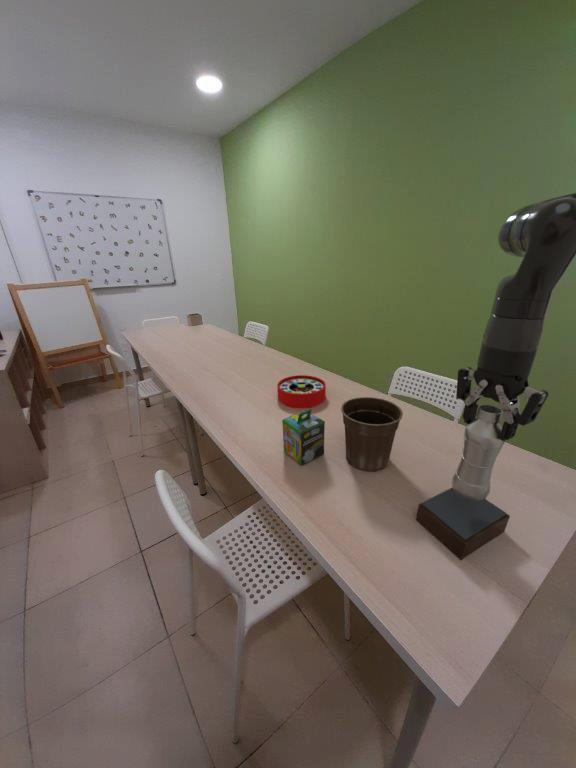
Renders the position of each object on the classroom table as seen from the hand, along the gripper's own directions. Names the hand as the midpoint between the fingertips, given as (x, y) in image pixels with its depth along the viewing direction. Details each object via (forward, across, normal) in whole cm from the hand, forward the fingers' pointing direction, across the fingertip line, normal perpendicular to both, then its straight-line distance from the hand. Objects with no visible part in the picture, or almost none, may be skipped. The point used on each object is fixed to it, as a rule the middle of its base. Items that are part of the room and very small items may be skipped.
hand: (485, 430), depth 56 cm
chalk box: (+24, +39, +17) cm, 49 cm away
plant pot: (+25, +28, +2) cm, 37 cm away
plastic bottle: (+16, 0, 0) cm, 16 cm away
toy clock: (+24, +73, -1) cm, 77 cm away
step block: (+24, 0, 0) cm, 24 cm away
